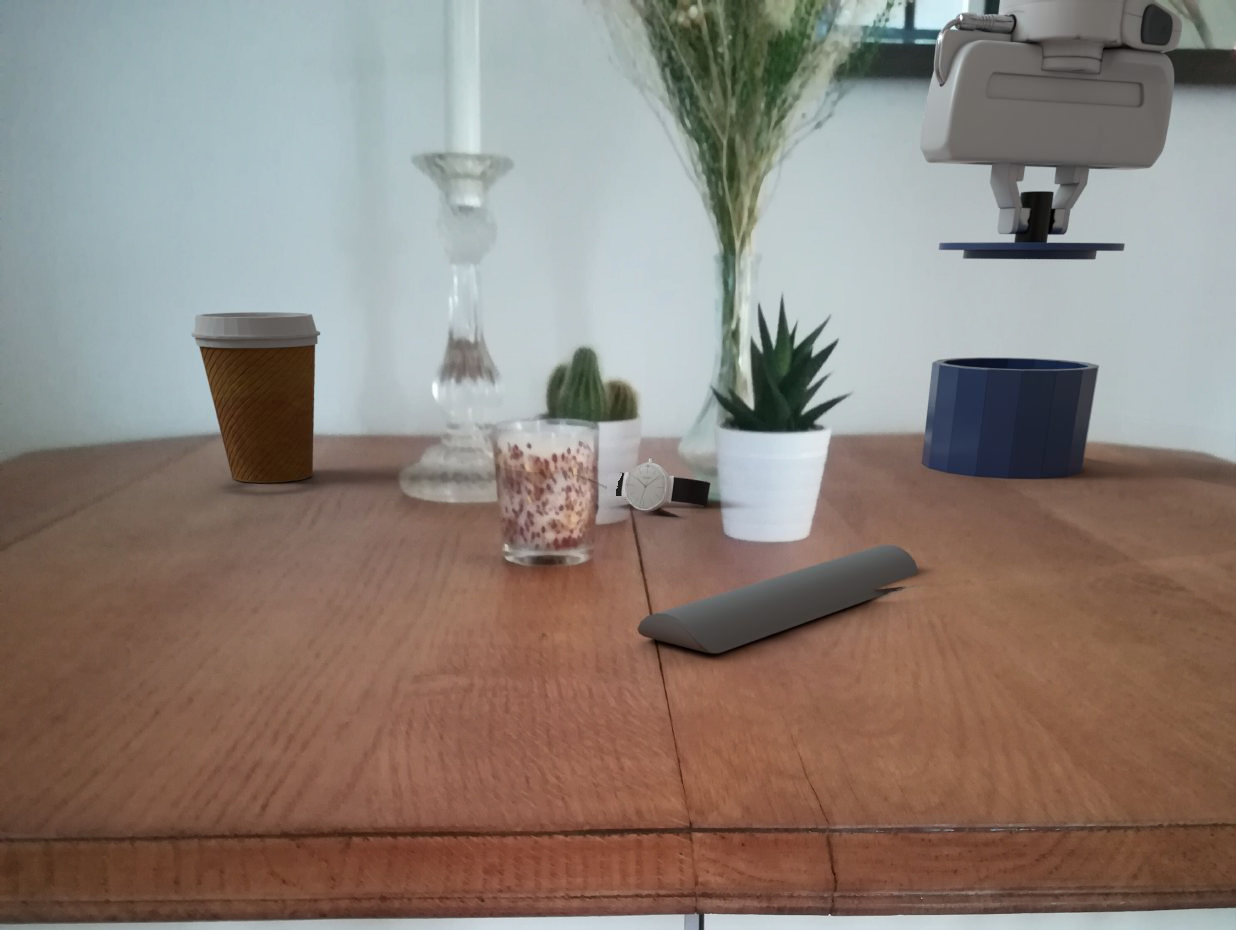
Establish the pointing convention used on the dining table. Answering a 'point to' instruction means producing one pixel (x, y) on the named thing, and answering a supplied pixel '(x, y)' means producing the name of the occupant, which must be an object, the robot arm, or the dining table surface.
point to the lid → (1033, 238)
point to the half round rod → (780, 601)
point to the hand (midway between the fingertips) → (1032, 234)
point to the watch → (659, 488)
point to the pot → (1009, 417)
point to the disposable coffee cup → (262, 390)
